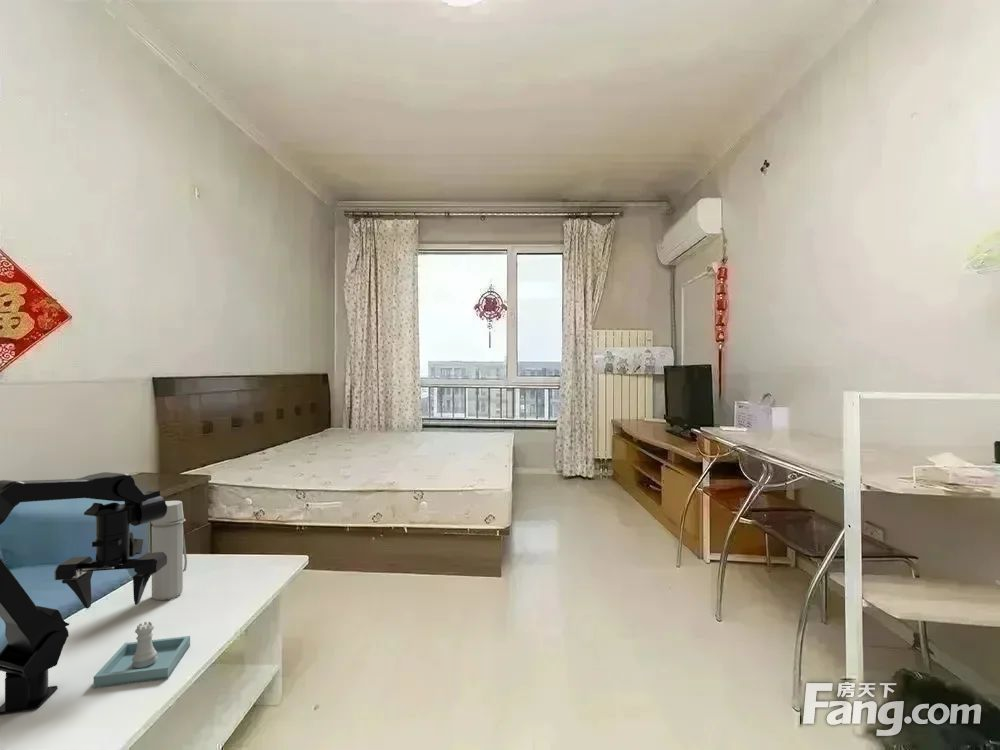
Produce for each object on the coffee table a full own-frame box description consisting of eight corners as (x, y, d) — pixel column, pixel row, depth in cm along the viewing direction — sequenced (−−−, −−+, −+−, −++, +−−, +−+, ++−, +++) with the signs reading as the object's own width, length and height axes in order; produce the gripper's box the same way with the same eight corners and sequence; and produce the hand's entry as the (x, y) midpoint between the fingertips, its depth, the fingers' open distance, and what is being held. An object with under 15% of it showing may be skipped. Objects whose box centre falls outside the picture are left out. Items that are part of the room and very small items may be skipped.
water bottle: (165, 603, 134) (165, 508, 133) (143, 599, 136) (143, 505, 136) (196, 589, 142) (196, 499, 142) (175, 585, 145) (175, 497, 145)
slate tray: (167, 678, 101) (167, 667, 101) (93, 688, 98) (93, 676, 98) (190, 645, 113) (190, 635, 113) (124, 653, 110) (124, 643, 110)
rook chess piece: (127, 671, 102) (127, 631, 102) (136, 659, 107) (136, 620, 107) (152, 667, 104) (152, 628, 104) (161, 655, 108) (161, 618, 108)
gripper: (177, 519, 118) (177, 586, 118) (85, 523, 114) (85, 593, 114) (155, 534, 107) (155, 608, 107) (52, 539, 103) (52, 616, 103)
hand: (112, 605), depth 108 cm, fingers open, 9 cm apart
